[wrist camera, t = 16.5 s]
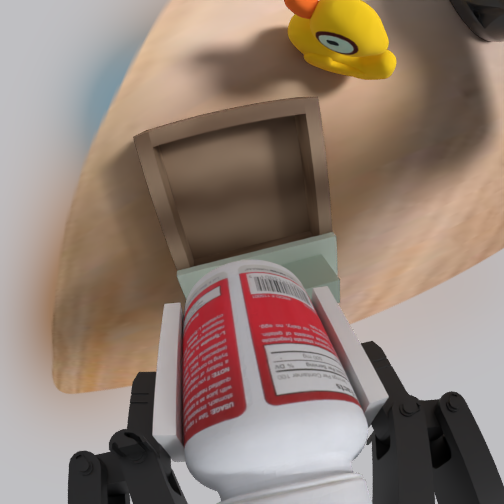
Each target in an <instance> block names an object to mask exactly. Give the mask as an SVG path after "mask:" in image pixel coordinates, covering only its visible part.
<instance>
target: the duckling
mask: <svg viewBox="0 0 504 504" xmlns="http://www.w3.org/2000/svg"><path fill="white" fill-rule="evenodd" d="M284 2H285V5H286V6H287V7H288V9H290V10H291V11H292V12H293V13H294V14H295V15H294V16H293V17H292V18H291V20H290V23H289V26H288V37H289V39H290V41H291V42H292V44H293V45H294V46H295V47H296V48H297V49H298V50H299V51H300V52H301V53H302V54H304V59H305V61H306V62H308V63H309V64H311V65H313V66H316V67H318V68H321V69H323V70H326V71H330V72H333V73H337V74H341V75H346V76H353V77H356V78H360V79H365V80H376V79H386V78H388V77H390V76H391V75H392V73H393V71H394V69H395V67H396V57H395V56H394V54H393V53H392V52H390V51H389V50H387V48H388V44H389V40H388V36H387V34H386V32H385V29H384V27H383V24H382V22H381V19H380V18H379V16H378V14H377V13H376V12H375V11H374V10H373V9H372V8H371V7H370V6H369V5H368V4H366V3H365V2H363V1H361V0H320V1H318V0H284Z"/></svg>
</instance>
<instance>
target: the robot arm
mask: <svg viewBox="0 0 504 504" xmlns="http://www.w3.org/2000/svg"><path fill="white" fill-rule="evenodd" d="M450 1H451V2H452V4H453V6H454V8H455V9H456V11H457V12H458V14H459V15H460V17H461V18H462V19H463V21H464V22H465V23H466V24H467V26H468V27H469V28H470V29H471V30H472V31H473V32H474V33H475V34H477V35H478V36H479V37H481V38H482V39H484V40H486V41H494V42H502V41H504V0H450ZM311 302H312V304H313V306H314V308H315V310H316V312H317V314H318V316H319V318H320V320H321V322H322V325H323V327H324V329H325V331H326V333H327V335H328V337H329V339H330V341H331V343H332V345H333V347H334V350H335V351H336V354H337V356H338V358H339V360H340V362H341V364H342V367H343V369H344V371H345V373H346V375H347V377H348V380H349V382H350V384H351V386H352V388H353V390H354V393H355V395H356V397H357V399H358V401H359V404H360V405H361V408H362V410H363V413H364V415H365V418H366V420H367V424H368V428H369V426H370V425H372V427H373V429H374V431H373V433H372V434H371V435H370V437H369V438H368V440H367V444H366V445H369V444H370V443H371V441H372V457H373V458H372V460H373V500H372V503H373V504H435V496H434V492H435V495H436V499H437V502H438V504H504V486H503V483H502V480H501V478H500V475H499V473H498V470H497V468H496V465H495V463H494V460H493V458H492V456H491V454H490V451H489V449H488V446H487V444H486V442H485V440H484V438H483V436H482V434H481V431H480V429H479V427H478V425H477V423H476V421H475V419H474V417H473V415H472V413H471V411H470V409H469V408H468V405H467V403H466V402H465V400H464V398H463V397H462V396H461V395H460V394H458V393H457V392H447V393H445V394H444V395H443V396H442V397H441V398H440V399H438V400H426V401H423V400H418V399H417V398H416V397H414V396H412V395H409V394H408V393H407V392H406V390H405V388H404V387H403V385H402V383H401V381H400V380H399V378H398V376H397V374H396V372H395V371H394V369H393V367H392V366H391V364H390V362H389V361H388V359H387V358H386V355H385V354H384V352H383V350H382V349H381V348H380V347H379V346H378V345H377V344H375V343H374V342H373V341H370V342H366V343H361V344H360V342H359V340H358V338H357V337H356V335H355V333H354V331H353V329H352V328H351V326H350V324H349V322H348V320H347V319H346V317H345V315H344V313H343V312H342V310H341V308H340V307H339V305H338V303H337V301H336V300H335V298H334V296H333V295H332V293H331V291H330V289H329V288H328V286H324V287H317V288H313V291H312V299H311ZM183 319H184V316H183V312H182V308H181V303H168V304H164V310H163V318H162V326H161V334H160V342H159V351H158V361H157V372H139V373H138V374H137V376H136V378H135V379H134V381H133V384H132V392H131V394H132V395H131V399H130V407H129V416H128V426H127V429H123V430H120V431H118V432H116V433H115V434H114V435H113V436H112V437H111V439H110V442H109V450H110V451H111V452H107V453H103V454H98V455H94V454H93V453H91V452H88V451H79V452H77V453H76V454H74V455H73V456H72V458H71V459H70V463H69V476H68V477H69V478H68V504H130V496H131V499H132V502H133V504H187V501H186V499H185V497H184V495H183V492H182V490H181V488H180V486H179V483H178V481H177V479H176V477H175V474H174V472H173V470H172V469H171V459H172V460H173V461H174V462H180V461H181V462H184V461H185V453H184V439H183V397H182V357H183ZM129 493H130V495H129Z"/></svg>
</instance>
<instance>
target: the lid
mask: <svg viewBox="0 0 504 504" xmlns="http://www.w3.org/2000/svg"><path fill="white" fill-rule="evenodd" d="M240 260H263V261H268V262H272V263H275V264H278V265H281V266H283V267H284V268H286V269H288V270H289V271H290V272H292V273H293V274H294V275H295V276H296V277H297V278H298V279H299V281H300V282H301V284H302V285H303V287H304V289H305V290H306V292H307V294H308V296H309V298H310V300H311V299H312V291H313V288H317V287H324V286H328V288H329V289H330V291H331V293H332V295H333V296H334V298H335V300H336V301H337V303H340V279H339V278H338V276H337V242H336V235H335V234H334V233H333V232H330V233H326V234H322V235H318V236H314V237H310V238H306V239H302V240H298V241H294V242H290V243H286V244H282V245H278V246H274V247H270V248H266V249H262V250H258V251H254V252H250V253H246V254H242V255H238V256H234V257H230V258H226V259H222V260H218V261H214V262H210V263H206V264H202V265H198V266H194V267H190V268H186V269H182V270H178V271H177V278H178V281H179V283H180V286H181V288H182V291H183V293H184V295H185V298H186V300H187V298H188V295H189V293H190V291H191V290H192V288H193V287H194V285H195V284H196V283H197V282H198V281H199V280H200V279H201V278H202V277H203V276H204V275H206V274H207V273H209V272H210V271H212V270H214V269H215V268H217V267H220V266H222V265H225V264H227V263H231V262H236V261H240Z"/></svg>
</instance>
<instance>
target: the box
mask: <svg viewBox="0 0 504 504" xmlns="http://www.w3.org/2000/svg"><path fill="white" fill-rule="evenodd" d="M133 138H134V142H135V145H136V149H137V152H138V156H139V159H140V163H141V166H142V169H143V173H144V176H145V179H146V182H147V186H148V189H149V192H150V195H151V198H152V201H153V204H154V207H155V210H156V213H157V216H158V219H159V222H160V225H161V228H162V231H163V233H164V236H165V239H166V242H167V245H168V247H169V250H170V253H171V255H172V258H173V261H174V263H175V266H176V269H177V271H178V270H182V269H186V268H190V267H194V266H198V265H202V264H206V263H210V262H214V261H218V260H222V259H226V258H230V257H234V256H238V255H242V254H246V253H250V252H254V251H258V250H262V249H266V248H270V247H274V246H278V245H282V244H286V243H290V242H294V241H298V240H302V239H306V238H310V237H314V236H318V235H322V234H326V233H330V232H332V218H331V204H330V192H329V181H328V170H327V161H326V152H325V144H324V136H323V128H322V121H321V114H320V107H319V101H318V97H297V98H289V99H281V100H275V101H268V102H262V103H256V104H251V105H245V106H240V107H235V108H230V109H225V110H221V111H216V112H212V113H208V114H203V115H199V116H195V117H191V118H188V119H184V120H180V121H177V122H173V123H170V124H166V125H163V126H159V127H156V128H153V129H150V130H147V131H144V132H142V133H140V134H138V135H136V136H134V137H133Z"/></svg>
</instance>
